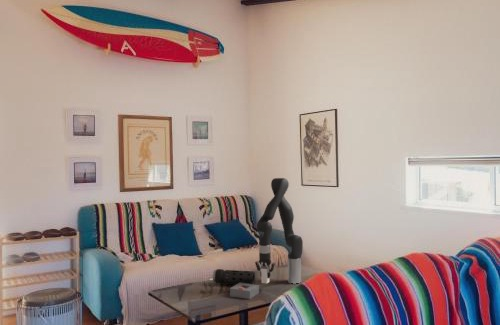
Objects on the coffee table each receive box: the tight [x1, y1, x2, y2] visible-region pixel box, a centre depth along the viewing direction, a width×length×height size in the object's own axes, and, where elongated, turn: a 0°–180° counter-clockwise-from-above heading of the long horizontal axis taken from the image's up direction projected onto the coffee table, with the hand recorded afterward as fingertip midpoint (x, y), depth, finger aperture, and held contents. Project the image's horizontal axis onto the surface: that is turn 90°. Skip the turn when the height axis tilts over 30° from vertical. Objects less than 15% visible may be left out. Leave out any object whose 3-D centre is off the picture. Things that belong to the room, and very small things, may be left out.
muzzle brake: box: [212, 268, 256, 286], centre depth 300 cm, size 10×28×10 cm, turn 78°
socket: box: [229, 283, 260, 300], centre depth 278 cm, size 14×14×6 cm
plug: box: [260, 265, 270, 284], centre depth 287 cm, size 4×4×11 cm
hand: (265, 277), depth 288 cm, fingers closed on plug, 4 cm apart
